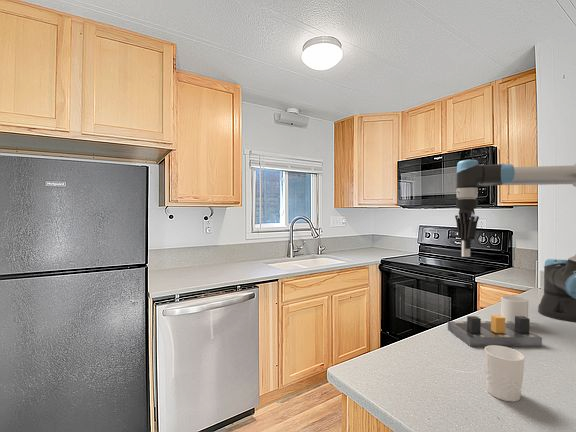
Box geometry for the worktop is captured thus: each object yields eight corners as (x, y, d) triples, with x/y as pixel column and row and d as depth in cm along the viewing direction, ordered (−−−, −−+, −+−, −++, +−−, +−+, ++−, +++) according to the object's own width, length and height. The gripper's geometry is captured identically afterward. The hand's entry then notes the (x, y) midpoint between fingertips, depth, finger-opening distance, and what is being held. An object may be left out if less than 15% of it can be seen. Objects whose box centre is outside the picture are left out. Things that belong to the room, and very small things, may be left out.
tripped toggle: (499, 330, 106) (500, 315, 105) (504, 333, 103) (505, 318, 103) (490, 330, 106) (491, 315, 105) (495, 333, 103) (496, 318, 103)
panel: (510, 329, 115) (511, 307, 114) (541, 346, 101) (542, 321, 100) (447, 329, 115) (448, 307, 114) (469, 346, 101) (470, 321, 100)
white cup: (476, 384, 79) (477, 345, 79) (505, 383, 80) (506, 344, 79) (500, 404, 71) (501, 361, 71) (532, 402, 72) (533, 359, 72)
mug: (509, 317, 126) (510, 292, 126) (535, 324, 120) (535, 297, 119) (496, 324, 119) (497, 297, 119) (522, 331, 113) (523, 303, 112)
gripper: (449, 199, 134) (448, 254, 135) (466, 198, 121) (465, 259, 122) (466, 199, 134) (465, 254, 135) (486, 198, 121) (485, 259, 122)
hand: (465, 256), depth 128 cm, fingers closed
